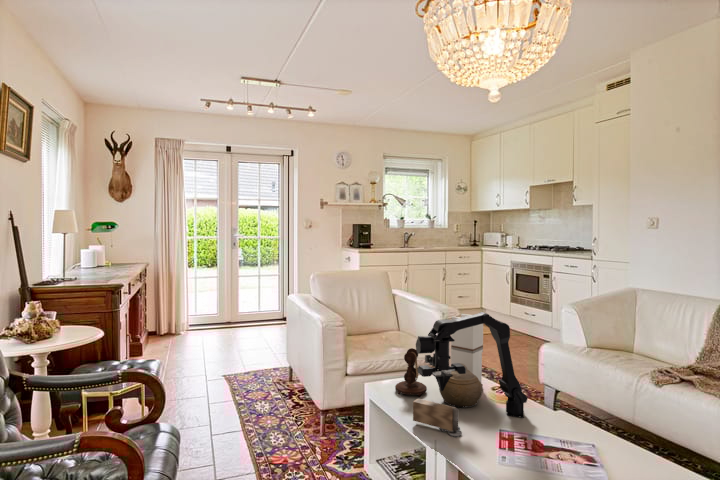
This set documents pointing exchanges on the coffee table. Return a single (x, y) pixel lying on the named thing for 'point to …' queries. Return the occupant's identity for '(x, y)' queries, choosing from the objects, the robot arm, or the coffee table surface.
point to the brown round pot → (462, 389)
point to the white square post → (468, 348)
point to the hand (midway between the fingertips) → (441, 390)
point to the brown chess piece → (411, 376)
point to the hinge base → (455, 433)
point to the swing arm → (435, 414)
